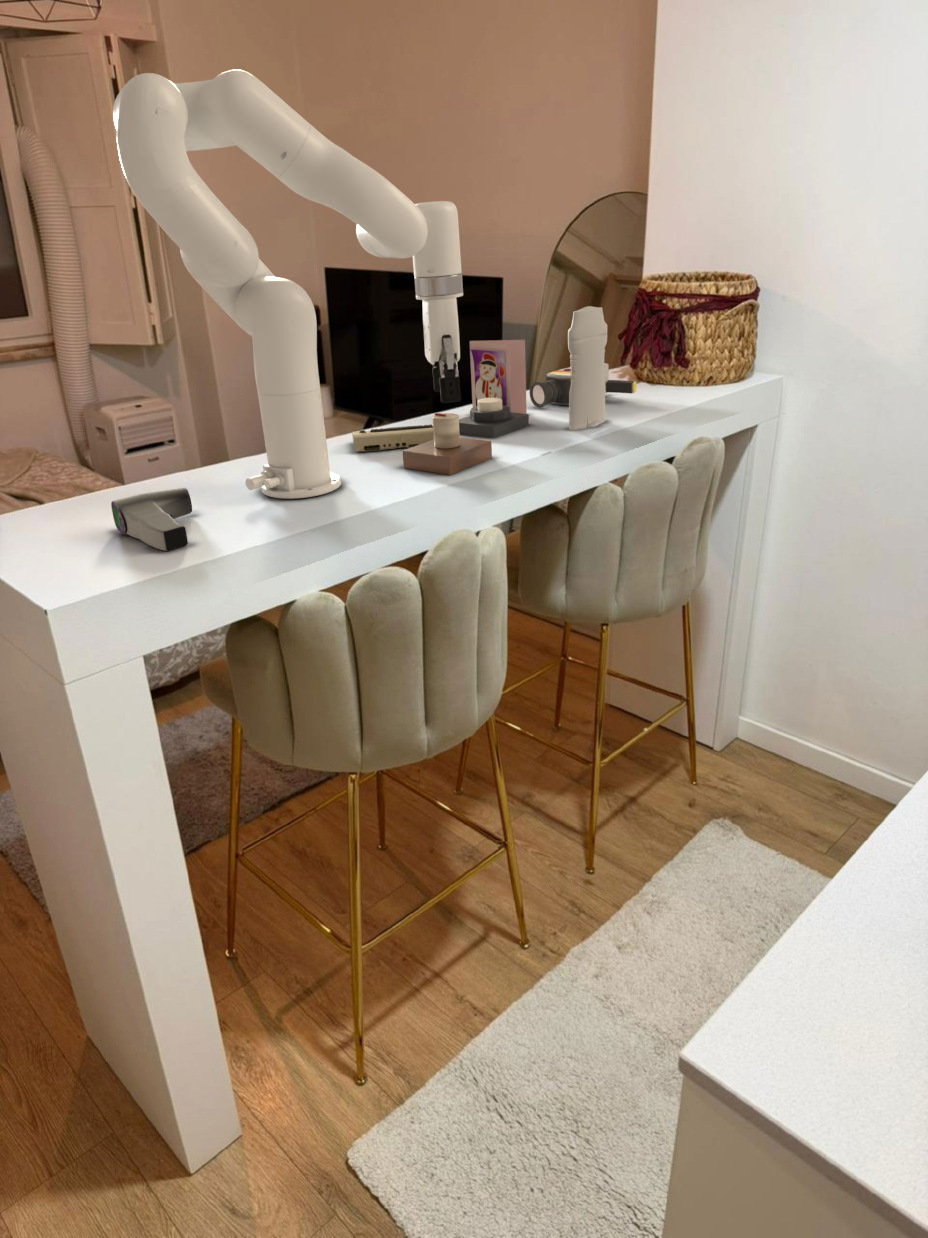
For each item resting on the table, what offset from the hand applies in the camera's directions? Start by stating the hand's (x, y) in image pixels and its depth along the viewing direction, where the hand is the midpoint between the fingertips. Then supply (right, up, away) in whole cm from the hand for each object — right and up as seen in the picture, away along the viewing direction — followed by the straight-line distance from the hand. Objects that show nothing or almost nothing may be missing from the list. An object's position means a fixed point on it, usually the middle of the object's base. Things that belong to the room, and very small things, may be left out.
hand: (447, 396), depth 148 cm
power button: (+8, +3, +25) cm, 26 cm away
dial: (0, -8, +3) cm, 8 cm away
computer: (-10, -5, +18) cm, 21 cm away
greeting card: (+11, +5, +37) cm, 39 cm away
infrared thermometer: (-38, -25, -22) cm, 51 cm away
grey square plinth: (+8, 0, +26) cm, 27 cm away
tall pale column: (+27, 0, +25) cm, 37 cm away
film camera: (+29, +9, +43) cm, 53 cm away
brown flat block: (0, -10, +4) cm, 11 cm away
